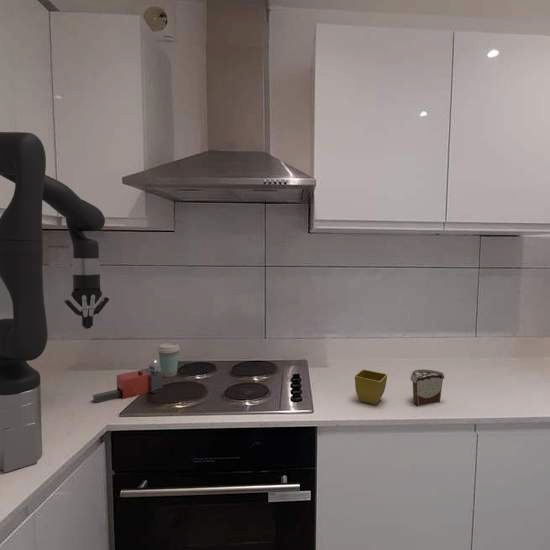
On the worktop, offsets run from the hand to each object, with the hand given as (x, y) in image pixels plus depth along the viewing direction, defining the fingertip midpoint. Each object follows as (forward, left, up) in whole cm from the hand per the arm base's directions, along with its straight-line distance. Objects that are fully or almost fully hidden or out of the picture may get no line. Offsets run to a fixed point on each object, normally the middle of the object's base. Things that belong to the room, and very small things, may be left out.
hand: (87, 328), depth 112 cm
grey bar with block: (+2, -13, -25) cm, 28 cm away
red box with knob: (+2, -15, -25) cm, 29 cm away
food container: (-65, -88, -25) cm, 112 cm away
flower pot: (-54, -74, -25) cm, 95 cm away
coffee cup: (+12, -32, -25) cm, 42 cm away
